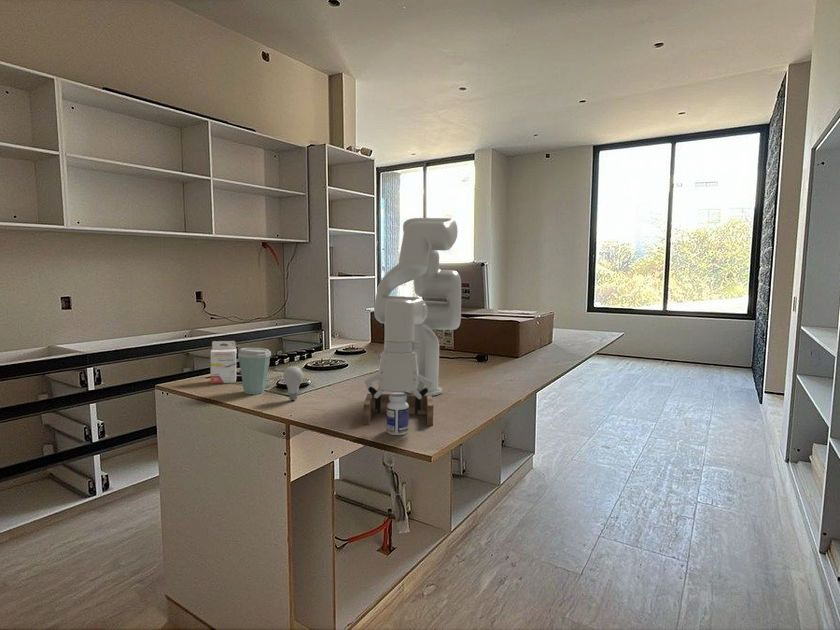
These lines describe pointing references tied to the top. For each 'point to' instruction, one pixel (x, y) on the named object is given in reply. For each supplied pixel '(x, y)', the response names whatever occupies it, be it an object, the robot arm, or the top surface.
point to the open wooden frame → (425, 401)
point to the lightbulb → (293, 381)
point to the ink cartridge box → (223, 362)
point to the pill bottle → (397, 414)
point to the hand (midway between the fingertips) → (397, 412)
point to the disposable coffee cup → (254, 369)
